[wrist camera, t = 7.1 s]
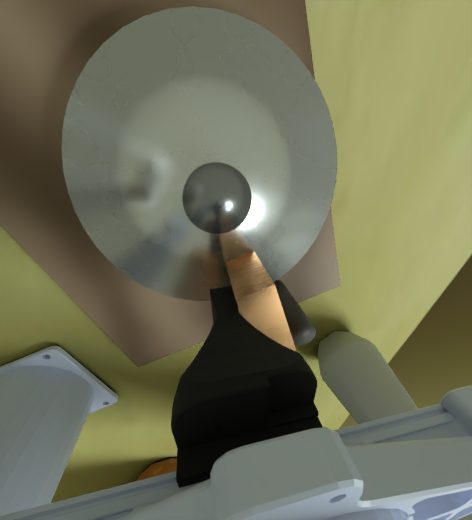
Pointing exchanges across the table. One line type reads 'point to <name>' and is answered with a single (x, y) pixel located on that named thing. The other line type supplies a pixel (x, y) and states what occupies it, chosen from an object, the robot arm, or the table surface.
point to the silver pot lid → (201, 158)
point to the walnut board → (54, 185)
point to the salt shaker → (362, 379)
